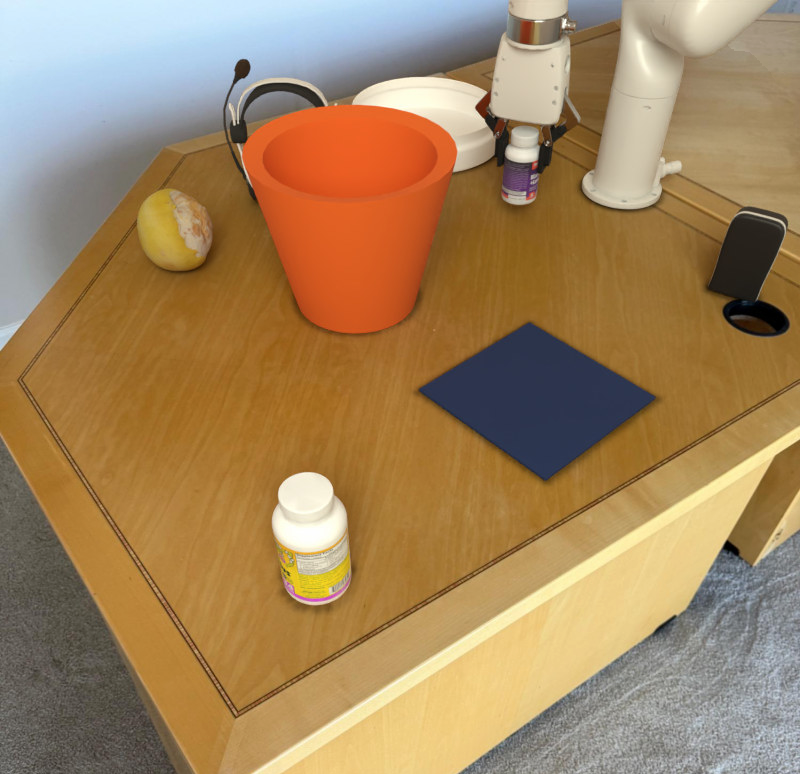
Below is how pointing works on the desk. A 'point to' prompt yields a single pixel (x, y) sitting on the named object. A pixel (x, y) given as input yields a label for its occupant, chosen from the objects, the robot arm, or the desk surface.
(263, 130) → the flowerpot
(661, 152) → the robot arm
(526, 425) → the mat
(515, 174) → the pill bottle
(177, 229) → the fruit
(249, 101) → the headset
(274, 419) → the desk surface
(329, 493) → the supplement bottle
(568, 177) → the desk surface
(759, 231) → the battery charger
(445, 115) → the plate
